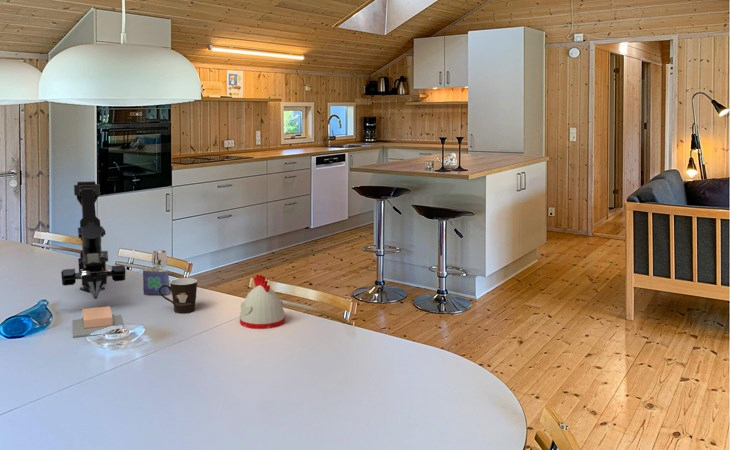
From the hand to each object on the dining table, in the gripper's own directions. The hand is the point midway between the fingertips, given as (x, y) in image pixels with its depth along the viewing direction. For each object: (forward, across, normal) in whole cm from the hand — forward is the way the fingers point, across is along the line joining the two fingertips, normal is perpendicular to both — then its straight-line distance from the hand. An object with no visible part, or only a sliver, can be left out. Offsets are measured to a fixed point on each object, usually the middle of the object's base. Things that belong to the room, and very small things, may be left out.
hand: (95, 298), depth 201 cm
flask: (-10, +20, +20) cm, 30 cm away
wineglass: (-22, +24, +32) cm, 45 cm away
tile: (+2, 0, +4) cm, 5 cm away
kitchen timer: (+21, +47, -11) cm, 53 cm away
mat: (+11, 0, -1) cm, 11 cm away
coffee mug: (+6, +26, +4) cm, 27 cm away
